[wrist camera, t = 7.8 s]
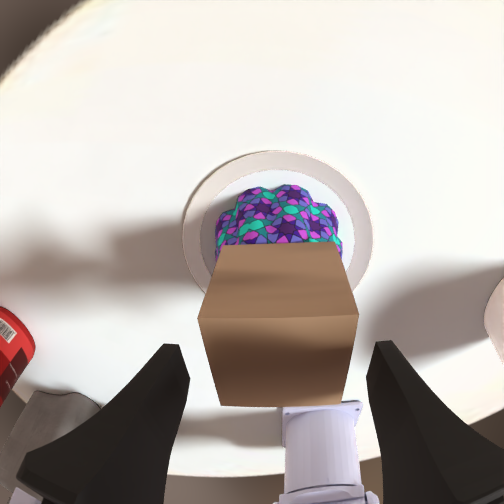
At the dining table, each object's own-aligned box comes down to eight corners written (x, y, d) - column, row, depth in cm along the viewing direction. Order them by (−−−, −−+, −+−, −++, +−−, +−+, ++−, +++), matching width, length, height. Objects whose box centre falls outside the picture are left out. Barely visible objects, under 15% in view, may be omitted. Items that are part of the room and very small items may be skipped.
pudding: (329, 115, 15) (350, 122, 11) (389, 281, 20) (413, 331, 15) (151, 202, 19) (114, 238, 14) (239, 335, 23) (231, 388, 19)
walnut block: (328, 326, 16) (340, 404, 11) (234, 328, 16) (220, 405, 12) (335, 241, 13) (359, 314, 9) (222, 245, 14) (197, 318, 9)
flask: (53, 412, 36) (10, 505, 19) (30, 389, 34) (-21, 484, 16) (112, 418, 33) (67, 542, 15) (85, 391, 30) (26, 522, 13)
